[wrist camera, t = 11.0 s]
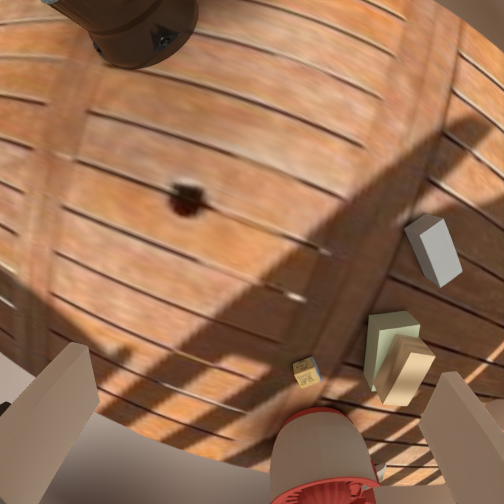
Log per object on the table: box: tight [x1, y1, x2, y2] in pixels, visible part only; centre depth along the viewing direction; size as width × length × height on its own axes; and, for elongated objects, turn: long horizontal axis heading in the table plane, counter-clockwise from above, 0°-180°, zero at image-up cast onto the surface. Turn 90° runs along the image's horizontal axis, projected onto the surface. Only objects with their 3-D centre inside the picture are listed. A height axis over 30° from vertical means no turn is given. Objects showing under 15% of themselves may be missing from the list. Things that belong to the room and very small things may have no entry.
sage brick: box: [363, 311, 420, 391], centre depth 40 cm, size 10×6×5 cm, turn 4°
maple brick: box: [373, 334, 435, 406], centre depth 35 cm, size 8×4×5 cm, turn 165°
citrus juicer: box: [270, 407, 386, 504], centre depth 37 cm, size 16×17×20 cm
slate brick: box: [404, 214, 462, 288], centre depth 37 cm, size 8×4×5 cm, turn 33°
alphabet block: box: [293, 357, 322, 389], centre depth 42 cm, size 3×3×3 cm
